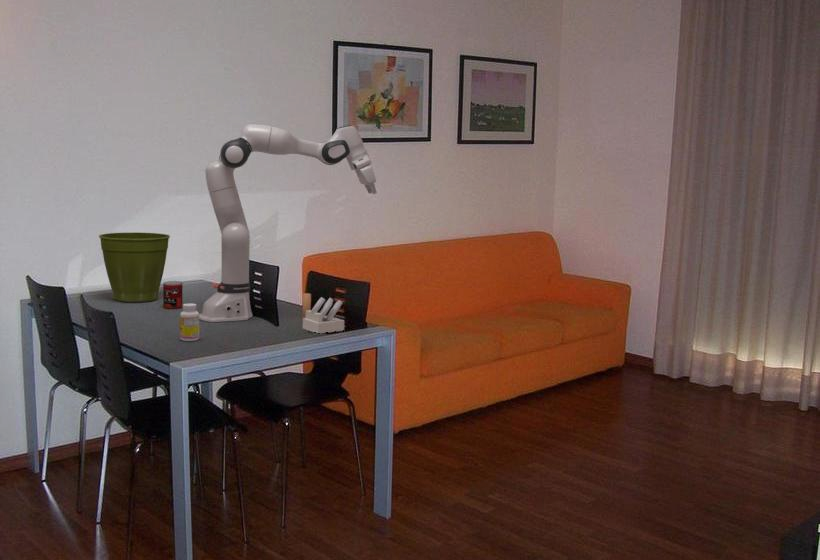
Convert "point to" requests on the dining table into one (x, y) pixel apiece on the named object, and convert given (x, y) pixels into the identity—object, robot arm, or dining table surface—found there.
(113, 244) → the plant pot
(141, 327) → the dining table surface
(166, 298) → the canned food
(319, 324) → the white tube holder
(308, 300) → the peg
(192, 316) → the supplement bottle
